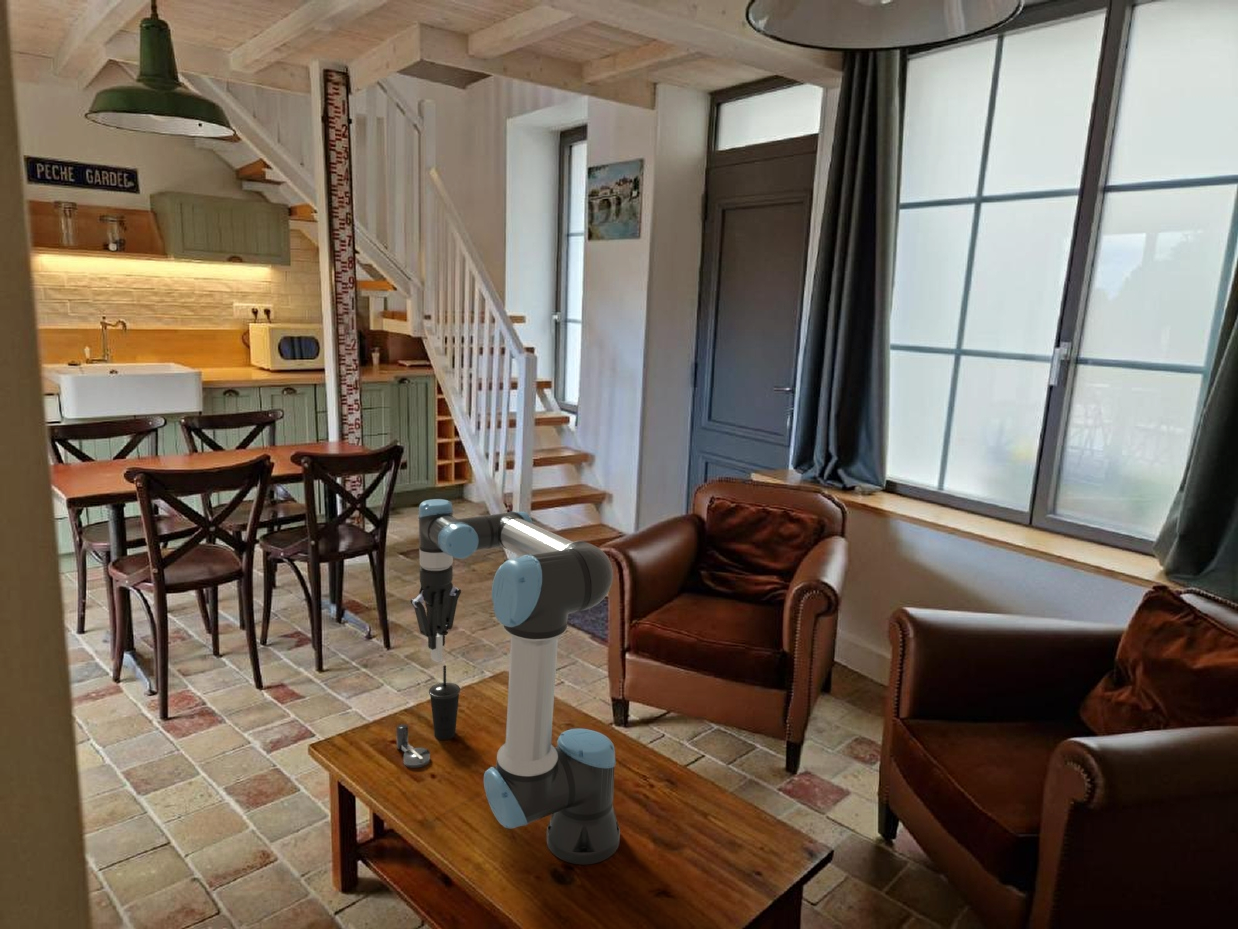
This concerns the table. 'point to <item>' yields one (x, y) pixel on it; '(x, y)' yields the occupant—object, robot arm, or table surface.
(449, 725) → the drinking cup
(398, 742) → the crank
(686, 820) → the table surface
